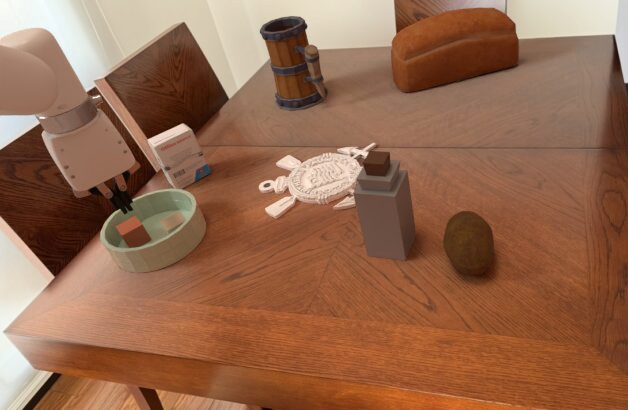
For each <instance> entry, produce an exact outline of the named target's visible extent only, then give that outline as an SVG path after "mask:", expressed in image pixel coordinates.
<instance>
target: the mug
mask: <svg viewBox="0 0 628 410" xmlns="http://www.w3.org/2000/svg"><path fill="white" fill-rule="evenodd" d="M307 30H308V24H307V23H306V20H305V19H304V18H303V17H301V16H298V15H288V16H282V17H278V18H275V19H272V20H271V19H270V20H269V21H267V22H265V23H264V24H262V26H261V27H260V29H259V34H260V35H261V38H262V40H264V42H265V46H266V49H267V52H268V56H269V60H270V68H271V71H272V74H273V78H274V83H275V89H276V93H275V94H274V97H275V98H276V99H275V102H274V103H275V104H276V106H277V107H278V109H280V110H285V111H289V112H292V111H301V110H302V111H303V110H306V109H309V108H312V107H314V106H317V105H319V104H320V103H322V102H323V101H325V100H327V97H328V93H329V90H328V88H326V86H325V84H324V81H325V78H324V76H323V74H322V70H321V69H322V68H321V63H320V53H319V49H318V47H317V46H315V45H314V44H310V43H309V39H308V35H307Z"/></svg>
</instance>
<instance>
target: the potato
mask: <svg viewBox="0 0 628 410" xmlns="http://www.w3.org/2000/svg"><path fill="white" fill-rule="evenodd" d="M494 245H495V243H494V233H493V229H492V227H491V225H490V224H489V222H488V221H486V219H484V218H483V217H482V216H481V215H480V214H478V213H477V212H475V211H471V210H461V211H459V212H456V213H454V214H453V215H452V216H451V217H450V218H449V220H448V222H447V223H446V226H445V230H444V234H443V238H442V247H443V250H444V252H445V254H446V257H447V258H448V260H449V262H450V263H451V264H452V266H453V268H454V269H455V270H456V271H457V272H459V273H461V274H463V275H465V276H470V277H474V276H475V277H476V276H480V275H481V274H483V273H485V272H486V271H487V270H488V269H489V268H490V267H491V265H492V262H493V259H494Z"/></svg>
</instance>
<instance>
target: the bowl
mask: <svg viewBox="0 0 628 410" xmlns="http://www.w3.org/2000/svg"><path fill="white" fill-rule="evenodd" d="M132 200H133V203H131V204H130V205H131V207H132V208H133V211H128V210H127V211H128V212H127V214H125V215H124V213H123V212H122V211H121V210H120V209H119V210H118V211H116V210H115V211H114V212H113V213H112V214H110V216H109V217H108V218H107V219H106V220H105V222H104V224H103V225H102V228H101V230H100V233H99V234H100V238H99V239H100V242H101V243H102V245H103V246H104V248H105V249H106V250H107V252H108V254H109V255H110V257H111V258H112V259H113V261H114V262H115V264H116V265H117V267H118V268H120V269H121V270H123V271H125V272H128V273H135V274H143V273H149V272H155V271H158V270H161V269H164V268H167V267H170V266H172V265H174V264H175V263H177V262H179V261H181V260H182V259H184V258H185V257H187V256H188V255H189V254H190V253H192V252H193V251H194V250H195V249H196V248H197V247H198V246H199V245H200V243H201V242H202V241H203V239H204V237H205V234H206V232H207V226H208V225H207V224H208V223H207V221H206V218H205V215H204V213H203V211H202V209H201V207H200V205H199V203H198V201H197V199H196V197H195V196H194V194H192V192H190V191H187V190H185V189H183V188H182V189H175V188H164V189H157V190H154V191H150V192H147V193H143V194H142V195H139V196H137V197H135V198H133V199H132ZM125 208H126V207H125ZM126 209H127V208H126ZM178 211H179V212H180V213H181V214H182V215H183V216H184V217H185V218H186V221H185V222H184V223H183V224H182V225H181V226H180V227H178V228H177V229H176V230H175V231H173V232H172V233H171V234H169V235H168V236H167V235H166V233H165V231H164V229H163V228H162V226H161V224H160V221H162V220H163V219H165V218H167V217H169V216H171V215H173V214H174V213H176V212H178ZM134 216H136V217H137V218H138V220H139V221H140V222H141V223H142V224H143V226H144V228H145V229H146V231H147V233H148V234H149V236H150V238H151V240H150V241H149V242H147V243H145V244H143V245H141V246H140V247H135V248H129V247H128V245H127V244H126V243H125V241H124V240H123V238H122V237H121V235H120V234H119V232H118V230H117V229H116V227H115V226H117V225H119V224H121V223H123V222H125V221H126V220H128V219H130V218H132V217H134Z"/></svg>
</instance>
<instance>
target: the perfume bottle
mask: <svg viewBox="0 0 628 410" xmlns="http://www.w3.org/2000/svg"><path fill="white" fill-rule="evenodd" d="M362 165H363V166H362V167H363V168H362V170H361V171H360V173H359V175H358V177H357V178H356V180H357V181H358V183H359V184H358V185H357V187H356V188H355V189H354V190H355V191H354V192H353V195H354V199H355V204H356V206H355V207H356V212H357V216H358V220H359V225H360V229H361V235H362V238H363V242H364V246H365V251H366V256H368V257H376V258H381V259H388V260H389V259H391V260H398V261H407V258H408V256H409V253H410V251H411V248H412V245H413V244H414V243H413V242H414V240H415V238H416V235H417V229H416V220H415V214H414V208H413V201H412V200H413V199H412V192H411V185H410V179H409V172H408V169H401V168H400V166H401V160H398V159H397V160H396V159H391V152H390V151H380V150H370V151H369V153H368V155H367V156H366V158H365V159H363V161H362ZM353 195H352V196H353Z"/></svg>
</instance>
